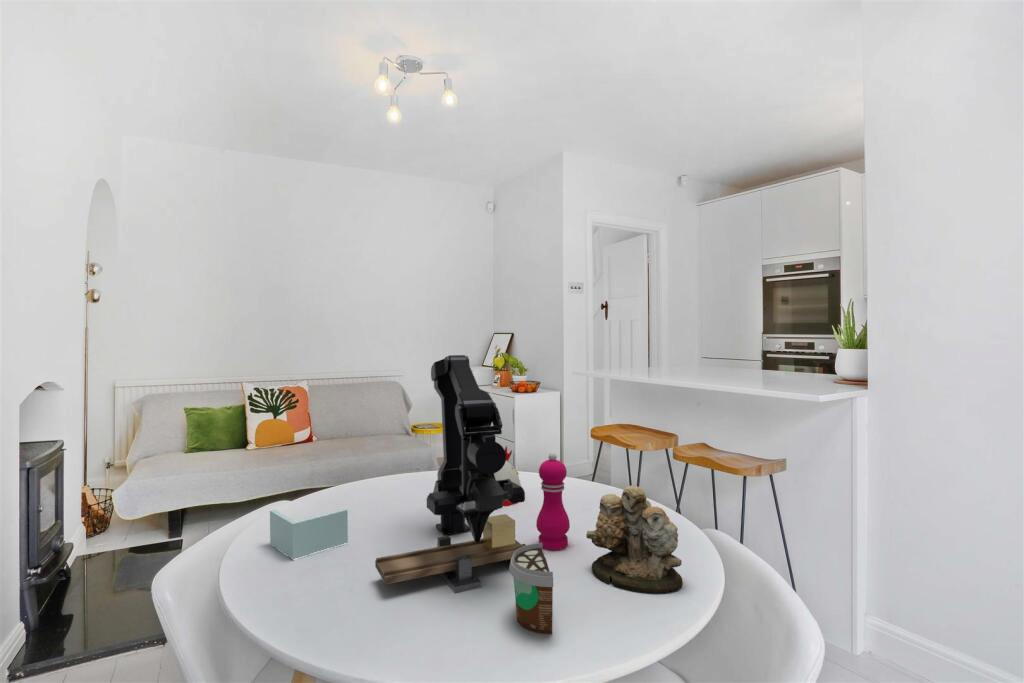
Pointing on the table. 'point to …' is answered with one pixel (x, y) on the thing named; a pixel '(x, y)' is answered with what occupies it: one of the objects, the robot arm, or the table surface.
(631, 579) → the owl figurine
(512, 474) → the kitchen timer
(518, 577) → the food container
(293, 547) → the right angle wall
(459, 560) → the stand
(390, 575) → the balance beam
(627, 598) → the table surface
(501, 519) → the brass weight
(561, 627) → the table surface
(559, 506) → the pepper mill
